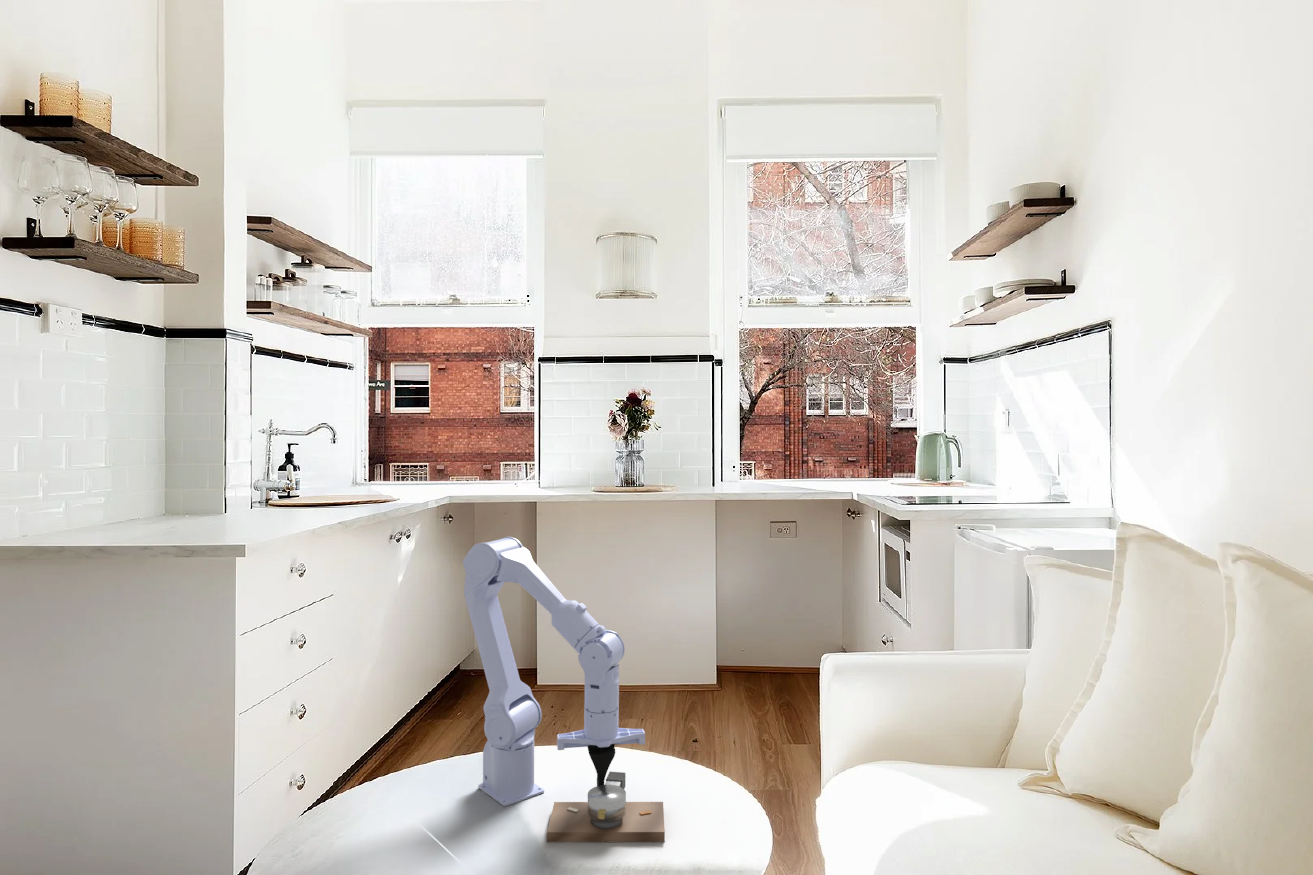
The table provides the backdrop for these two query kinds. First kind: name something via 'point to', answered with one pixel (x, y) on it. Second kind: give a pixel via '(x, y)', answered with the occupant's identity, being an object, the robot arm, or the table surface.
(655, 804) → the mounting board
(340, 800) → the table surface
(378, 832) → the table surface
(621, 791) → the silver saucepan
